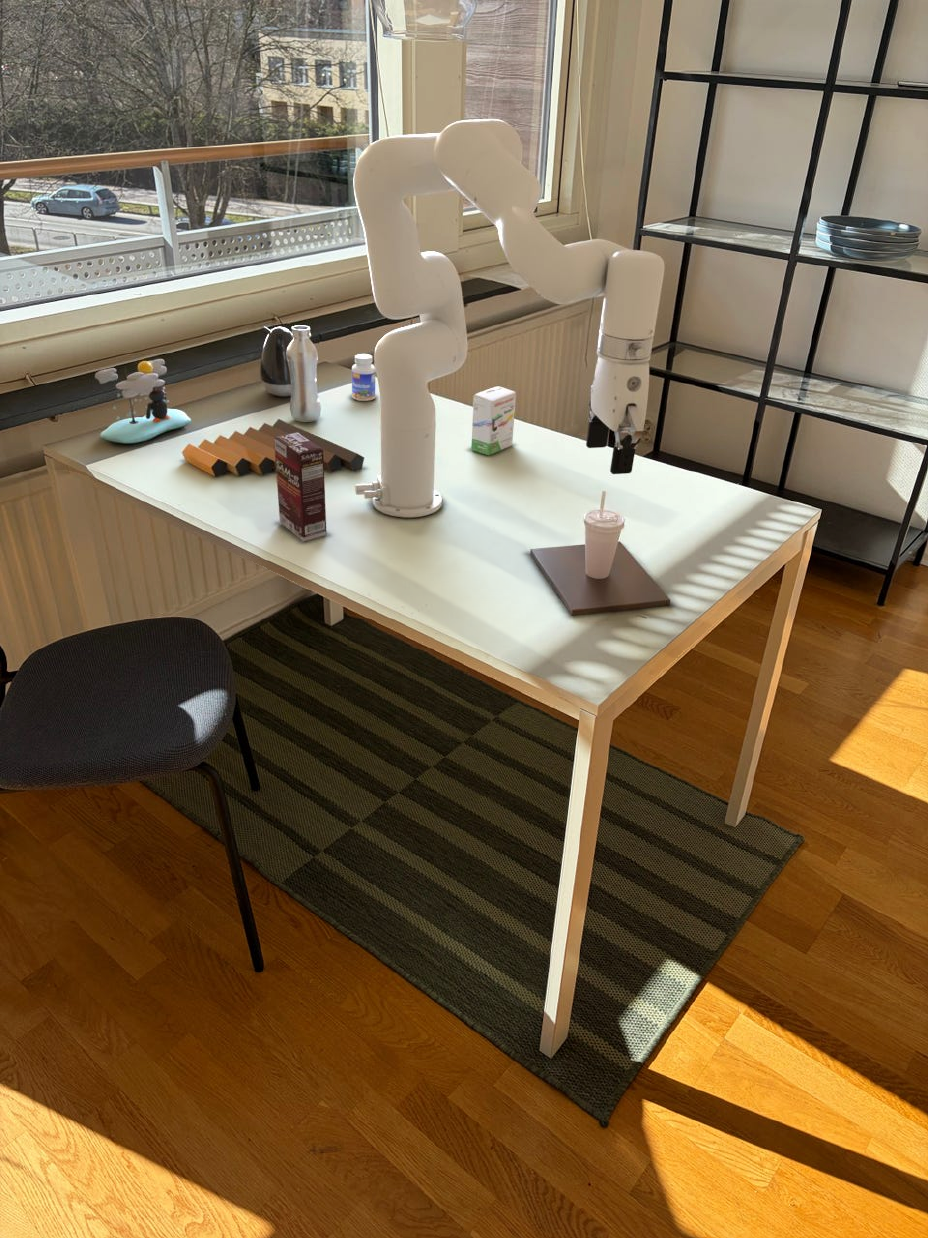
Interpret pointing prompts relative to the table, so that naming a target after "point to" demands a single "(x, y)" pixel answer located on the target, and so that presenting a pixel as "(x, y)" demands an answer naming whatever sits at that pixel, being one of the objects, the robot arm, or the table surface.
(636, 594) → the walnut board
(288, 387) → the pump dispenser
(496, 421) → the ink box
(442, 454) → the table surface
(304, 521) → the supplement box
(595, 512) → the smoothie
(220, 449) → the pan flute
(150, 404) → the penguin figurine
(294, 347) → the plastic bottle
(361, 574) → the table surface
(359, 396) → the pill bottle
